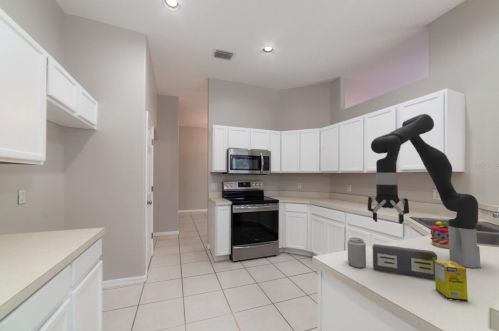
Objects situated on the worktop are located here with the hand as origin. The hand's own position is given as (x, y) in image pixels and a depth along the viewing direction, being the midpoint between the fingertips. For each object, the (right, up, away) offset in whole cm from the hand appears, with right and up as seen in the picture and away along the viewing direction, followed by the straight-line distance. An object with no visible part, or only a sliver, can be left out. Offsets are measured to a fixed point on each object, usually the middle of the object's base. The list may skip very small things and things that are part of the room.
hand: (387, 222), depth 85 cm
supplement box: (+12, -22, -14) cm, 29 cm away
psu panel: (+8, -22, +2) cm, 24 cm away
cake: (+57, -25, +36) cm, 72 cm away
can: (-8, -23, +10) cm, 26 cm away
